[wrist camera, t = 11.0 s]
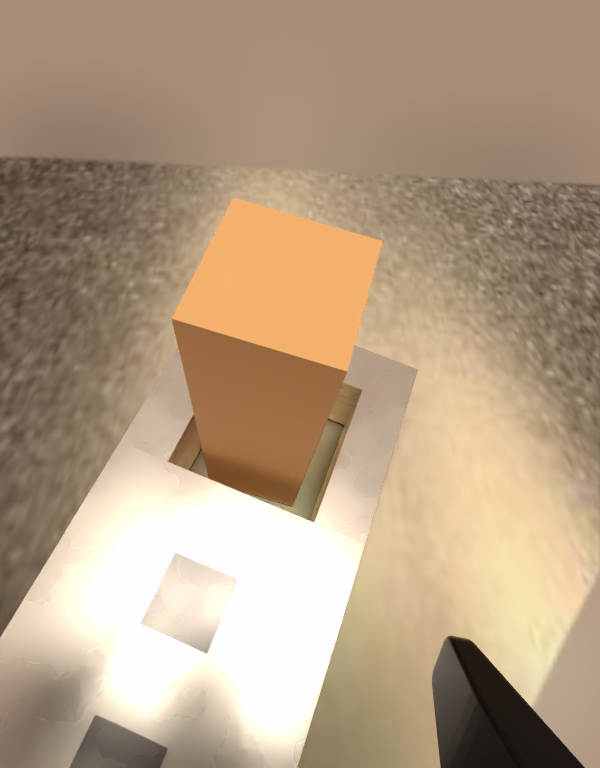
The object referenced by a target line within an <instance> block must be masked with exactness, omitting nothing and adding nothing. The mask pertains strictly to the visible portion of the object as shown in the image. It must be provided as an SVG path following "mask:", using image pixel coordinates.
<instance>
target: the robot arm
mask: <svg viewBox="0 0 600 768" xmlns="http://www.w3.org/2000/svg"><path fill="white" fill-rule="evenodd" d="M432 688H433V697H434V707H435V717H436V727H437V736H438V746H439V756H440V766H441V768H585V767H584V766H583V765H582V764H581V763H580V762H579V761H578V760H577V758H576V757H575V756H574V755H573V754H572V753H571V752H570V751H569V749H568V748H567V747H566V746H565V745H564V744H563V743H562V742H561V740H560V739H559V738H558V737H557V736H556V735H555V734H554V733H553V731H552V730H551V729H550V728H549V727H548V726H547V725H546V724H545V723H544V721H543V720H542V719H541V718H540V717H539V716H538V715H537V713H536V712H535V711H534V710H533V709H532V708H531V707H530V706H529V704H528V703H527V702H526V701H525V700H524V699H523V698H522V697H521V695H520V694H519V693H518V692H517V691H516V690H515V689H514V688H513V686H512V685H511V684H510V683H509V682H508V681H507V680H506V679H505V677H504V676H503V675H502V674H501V673H500V672H499V671H498V670H497V668H496V667H495V666H494V665H493V664H492V663H491V662H490V661H489V659H488V658H487V657H486V656H485V655H484V654H483V653H482V652H481V650H480V649H479V648H478V647H477V646H476V645H475V644H474V643H473V642H472V641H471V640H469V639H465V638H460V637H455V636H448V637H447V638H446V639H445V640H444V642H443V645H442V648H441V650H440V653H439V656H438V659H437V661H436V664H435V667H434V670H433V675H432Z"/></svg>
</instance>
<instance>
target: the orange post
mask: <svg viewBox="0 0 600 768" xmlns="http://www.w3.org/2000/svg"><path fill="white" fill-rule="evenodd" d="M382 242H383V241H380V240H377V239H374V238H370V237H367V236H363V235H360V234H356V233H353V232H349V231H346V230H343V229H339V228H336V227H332V226H329V225H325V224H322V223H318V222H315V221H312V220H308V219H305V218H301V217H298V216H294V215H291V214H287V213H284V212H281V211H277V210H274V209H270V208H267V207H263V206H260V205H256V204H253V203H250V202H246V201H243V200H239V199H236V198H233V200H232V201H231V203H230V205H229V207H228V209H227V211H226V213H225V215H224V217H223V219H222V221H221V223H220V225H219V227H218V229H217V231H216V233H215V235H214V237H213V239H212V241H211V243H210V245H209V247H208V249H207V251H206V252H205V254H204V256H203V258H202V260H201V262H200V264H199V266H198V268H197V270H196V272H195V274H194V276H193V278H192V280H191V282H190V284H189V286H188V288H187V290H186V292H185V294H184V296H183V298H182V300H181V302H180V304H179V305H178V307H177V309H176V311H175V313H174V315H173V317H172V322H173V326H174V331H175V335H176V339H177V343H178V348H179V352H180V356H181V361H182V365H183V369H184V374H185V378H186V382H187V386H188V391H189V395H190V399H191V404H192V408H193V412H194V417H195V421H196V425H197V429H198V434H199V438H200V442H201V447H202V451H203V455H204V460H205V464H206V468H207V472H208V477H209V479H211V480H213V481H215V482H218V483H220V484H223V485H225V486H228V487H231V488H235V489H238V490H241V491H244V492H247V493H251V494H254V495H257V496H260V497H264V498H267V499H270V500H273V501H276V502H280V503H283V504H286V505H289V506H293V503H294V501H295V498H296V496H297V494H298V491H299V489H300V486H301V484H302V481H303V479H304V476H305V474H306V472H307V469H308V467H309V464H310V462H311V459H312V457H313V454H314V452H315V450H316V447H317V445H318V442H319V440H320V437H321V435H322V433H323V430H324V428H325V425H326V423H327V420H328V418H329V415H330V413H331V411H332V408H333V406H334V403H335V401H336V398H337V396H338V394H339V391H340V389H341V386H342V384H343V381H344V379H345V376H346V374H347V372H348V368H349V364H350V361H351V357H352V353H353V349H354V346H355V342H356V338H357V335H358V331H359V327H360V323H361V320H362V316H363V312H364V309H365V305H366V301H367V298H368V294H369V290H370V286H371V283H372V279H373V275H374V272H375V268H376V264H377V261H378V257H379V253H380V249H381V246H382Z"/></svg>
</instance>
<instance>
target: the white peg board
mask: <svg viewBox="0 0 600 768" xmlns="http://www.w3.org/2000/svg"><path fill="white" fill-rule="evenodd" d="M417 371H418V370H417V369H415V368H412V367H409V366H407V365H404V364H402V363H399V362H396V361H394V360H391V359H389V358H386V357H383V356H381V355H378V354H375V353H373V352H370V351H368V350H365V349H362V348H360V347H357V346H354V349H353V353H352V357H351V361H350V364H349V368H348V372H347V374H346V376H345V379H344V381H343V384H342V386H341V389H340V391H339V394H338V396H337V398H336V401H335V403H334V406H333V408H332V411H331V413H330V415H329V418H328V419H330V420H333V421H335V422H338V423H340V424H343V425H344V428H343V431H342V434H341V436H340V439H339V442H338V444H337V447H336V450H335V453H334V455H333V458H332V461H331V463H330V466H329V469H328V472H327V474H326V477H325V480H324V483H323V485H322V488H321V491H320V493H319V496H318V499H317V502H316V504H315V507H314V510H313V512H312V515H311V518H310V521H309V520H307V519H304V518H302V517H299V516H297V515H295V514H292V513H290V512H287V511H285V510H283V509H280V508H278V507H275V506H273V505H271V504H268V503H266V502H263V501H261V500H259V499H256V498H254V497H251V496H249V495H247V494H244V493H242V492H239V491H237V490H235V489H232V488H230V487H227V486H225V485H223V484H220V483H218V482H215V481H213V480H211V479H208V478H206V477H203V476H201V475H199V474H196V473H194V472H191V471H189V470H190V468H191V466H192V464H193V462H194V460H195V459H196V457H197V455H198V453H199V451H200V449H201V442H200V438H199V434H198V429H197V425H196V421H195V417H194V412H193V408H192V404H191V399H190V395H189V391H188V386H187V382H186V378H185V374H184V369H183V365H182V361H181V356H180V352H179V348H177V350H176V351H175V353H174V355H173V356H172V358H171V360H170V361H169V363H168V365H167V366H166V368H165V369H164V371H163V373H162V374H161V376H160V378H159V379H158V381H157V383H156V384H155V386H154V387H153V389H152V391H151V392H150V394H149V396H148V397H147V399H146V401H145V402H144V404H143V405H142V407H141V409H140V410H139V412H138V414H137V415H136V417H135V418H134V420H133V422H132V423H131V425H130V427H129V428H128V430H127V432H126V433H125V435H124V436H123V438H122V440H121V441H120V443H119V445H118V446H117V448H116V450H115V451H114V453H113V454H112V456H111V458H110V459H109V461H108V463H107V464H106V466H105V468H104V469H103V471H102V472H101V474H100V476H99V477H98V479H97V481H96V482H95V484H94V486H93V487H92V489H91V490H90V492H89V494H88V495H87V497H86V499H85V500H84V502H83V503H82V505H81V507H80V508H79V510H78V512H77V513H76V515H75V517H74V518H73V520H72V521H71V523H70V525H69V526H68V528H67V530H66V531H65V533H64V535H63V536H62V538H61V539H60V541H59V543H58V544H57V546H56V548H55V549H54V551H53V553H52V554H51V556H50V557H49V559H48V561H47V562H46V564H45V566H44V567H43V569H42V571H41V572H40V574H39V575H38V577H37V579H36V580H35V582H34V584H33V585H32V587H31V589H30V590H29V592H28V593H27V595H26V597H25V598H24V600H23V602H22V603H21V605H20V606H19V608H18V610H17V611H16V613H15V615H14V616H13V618H12V620H11V621H10V623H9V624H8V626H7V628H6V629H5V631H4V633H3V634H2V636H1V638H0V768H297V767H298V764H299V760H300V757H301V754H302V750H303V747H304V744H305V740H306V737H307V734H308V731H309V727H310V724H311V721H312V717H313V714H314V711H315V707H316V704H317V701H318V698H319V694H320V691H321V688H322V684H323V681H324V678H325V674H326V671H327V668H328V665H329V661H330V658H331V655H332V651H333V648H334V645H335V641H336V638H337V635H338V632H339V628H340V625H341V622H342V618H343V615H344V612H345V608H346V605H347V602H348V599H349V595H350V592H351V589H352V585H353V582H354V579H355V575H356V572H357V569H358V566H359V562H360V559H361V556H362V552H363V549H364V546H365V542H366V539H367V536H368V533H369V529H370V526H371V523H372V519H373V516H374V513H375V509H376V506H377V503H378V500H379V496H380V493H381V490H382V486H383V483H384V480H385V476H386V473H387V470H388V467H389V463H390V460H391V457H392V453H393V450H394V447H395V443H396V440H397V437H398V434H399V430H400V427H401V424H402V420H403V417H404V414H405V410H406V407H407V404H408V401H409V397H410V394H411V391H412V387H413V384H414V381H415V377H416V374H417Z"/></svg>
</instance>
